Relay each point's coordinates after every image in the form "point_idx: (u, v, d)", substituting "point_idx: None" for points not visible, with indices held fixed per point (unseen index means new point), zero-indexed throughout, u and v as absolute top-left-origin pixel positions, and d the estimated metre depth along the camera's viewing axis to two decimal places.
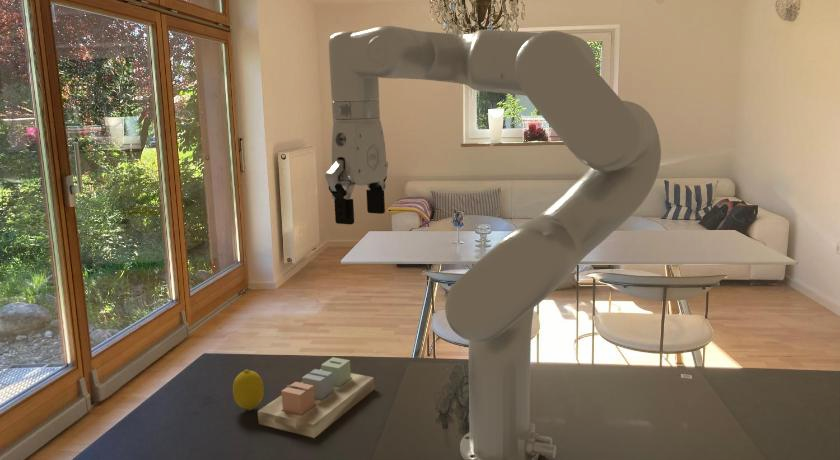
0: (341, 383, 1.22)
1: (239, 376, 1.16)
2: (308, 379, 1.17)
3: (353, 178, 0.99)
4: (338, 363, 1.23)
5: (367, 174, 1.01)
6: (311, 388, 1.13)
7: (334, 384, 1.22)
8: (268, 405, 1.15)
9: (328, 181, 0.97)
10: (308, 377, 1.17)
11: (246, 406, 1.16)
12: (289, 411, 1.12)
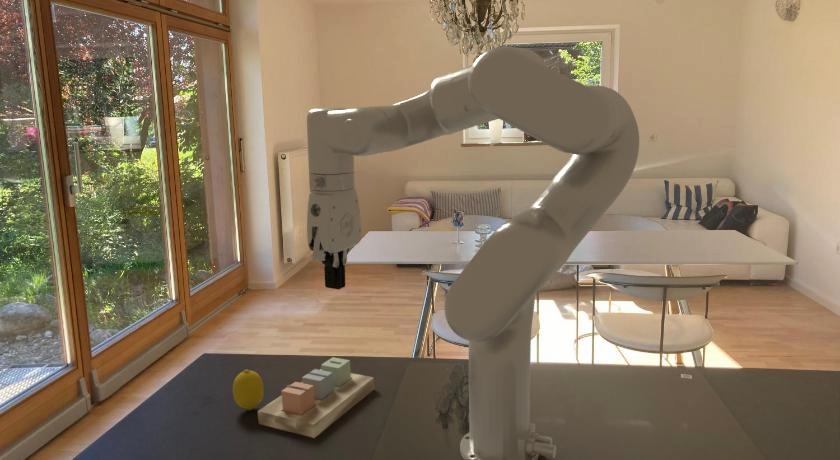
0: (341, 383, 1.22)
1: (239, 376, 1.16)
2: (308, 379, 1.17)
3: (326, 247, 1.04)
4: (338, 363, 1.23)
5: (340, 242, 1.06)
6: (311, 388, 1.13)
7: (334, 384, 1.22)
8: (268, 405, 1.15)
9: None
10: (308, 377, 1.17)
11: (246, 406, 1.16)
12: (289, 411, 1.12)
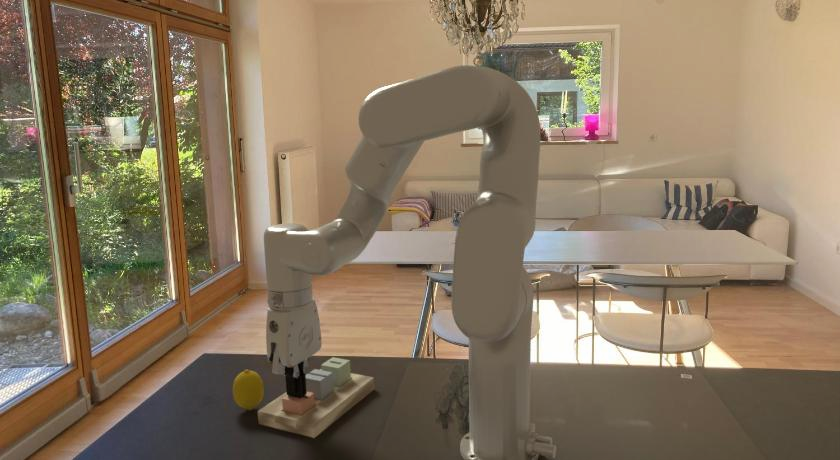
0: (341, 383, 1.22)
1: (239, 376, 1.16)
2: (308, 379, 1.17)
3: (285, 362, 1.06)
4: (338, 363, 1.23)
5: (299, 355, 1.09)
6: (312, 396, 1.14)
7: (334, 384, 1.22)
8: (268, 405, 1.15)
9: None
10: (308, 377, 1.17)
11: (246, 406, 1.16)
12: None
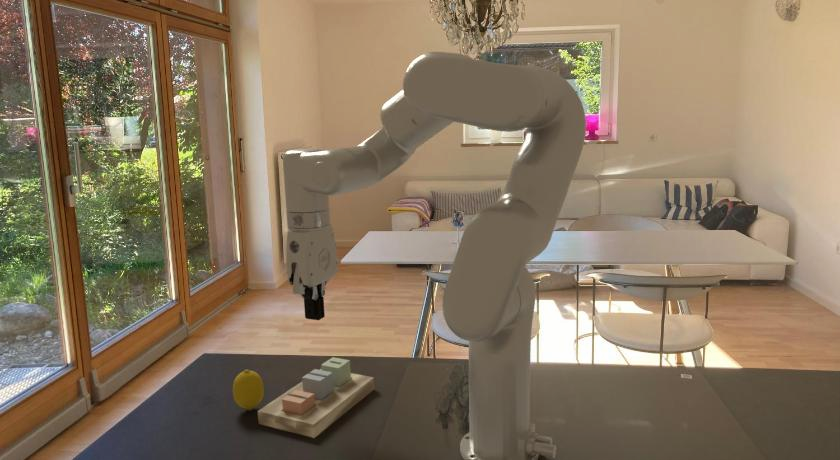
0: (341, 383, 1.22)
1: (239, 376, 1.16)
2: (308, 379, 1.17)
3: (306, 281, 1.09)
4: (338, 363, 1.23)
5: (319, 275, 1.12)
6: (312, 396, 1.14)
7: (334, 384, 1.22)
8: (268, 405, 1.15)
9: None
10: (308, 377, 1.17)
11: (246, 406, 1.16)
12: None
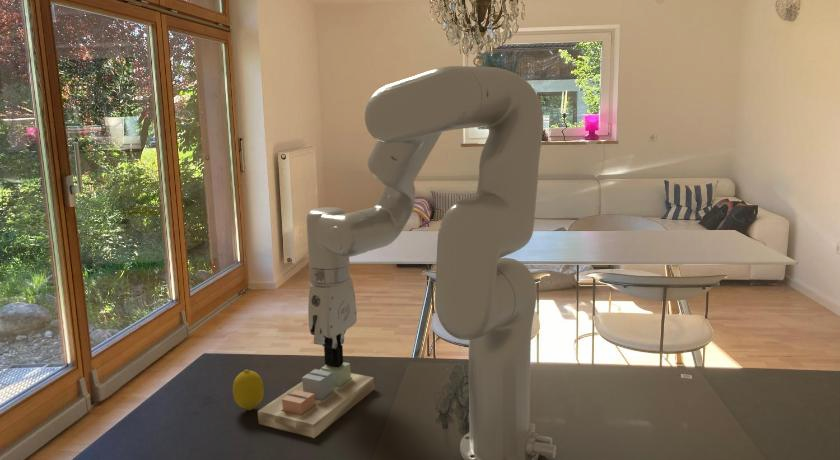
0: None
1: (239, 376, 1.16)
2: (308, 379, 1.17)
3: (326, 333, 1.17)
4: None
5: (338, 327, 1.19)
6: (312, 396, 1.14)
7: None
8: (268, 405, 1.15)
9: None
10: (308, 377, 1.17)
11: (246, 406, 1.16)
12: None
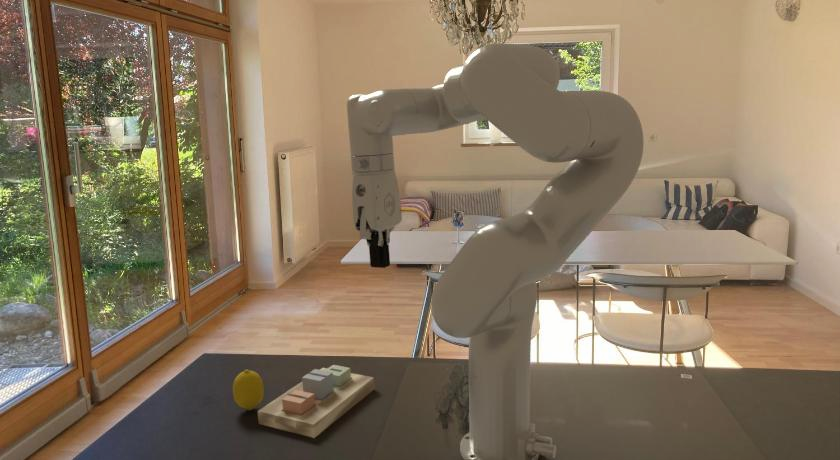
0: None
1: (239, 376, 1.16)
2: (308, 379, 1.17)
3: (373, 225, 1.09)
4: (338, 371, 1.23)
5: (385, 220, 1.11)
6: (312, 396, 1.14)
7: None
8: (268, 405, 1.15)
9: None
10: (308, 377, 1.17)
11: (246, 406, 1.16)
12: None
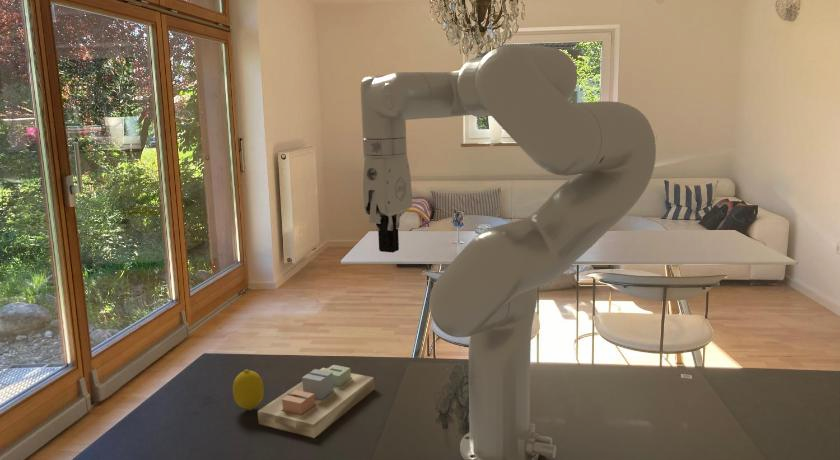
0: None
1: (239, 376, 1.16)
2: (308, 379, 1.17)
3: (383, 209, 1.08)
4: (338, 371, 1.23)
5: (395, 205, 1.10)
6: (312, 396, 1.14)
7: None
8: (268, 405, 1.15)
9: None
10: (308, 377, 1.17)
11: (246, 406, 1.16)
12: None
